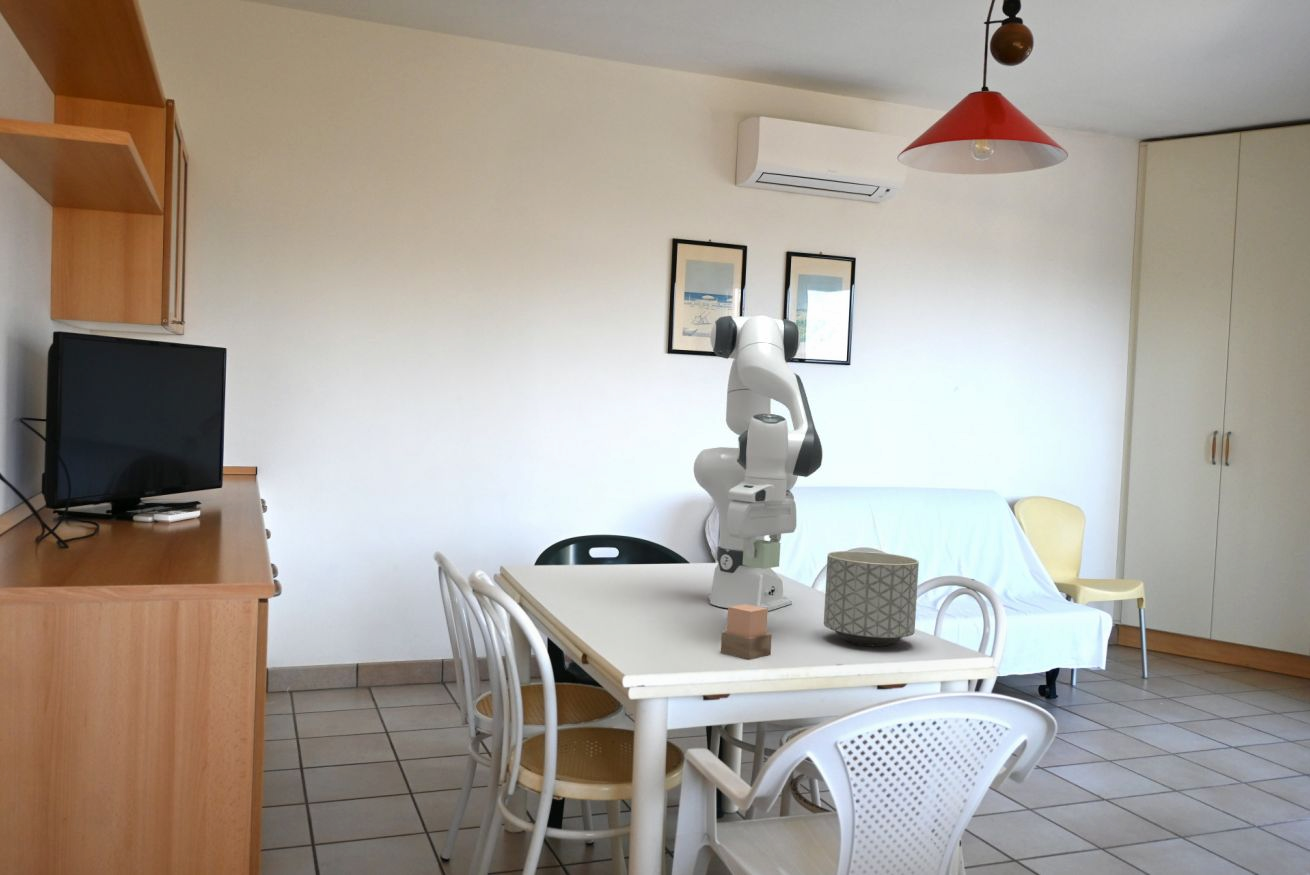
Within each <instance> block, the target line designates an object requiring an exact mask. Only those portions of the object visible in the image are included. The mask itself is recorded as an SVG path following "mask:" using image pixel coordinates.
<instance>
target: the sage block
mask: <svg viewBox="0 0 1310 875" xmlns="http://www.w3.org/2000/svg"><path fill="white" fill-rule="evenodd" d="M753 544H754V548H755V549H756V550H757V557H756V558H747V557H746V548H745V545H744V548H743V565H746V566H751V567H756V568H762V569H766V568H771V569H773V568H778V567H780V556H781V542H779V543H777V542H772V541H770V540H765V539H764V540H760V539H759V540H755V542H753Z"/></svg>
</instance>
